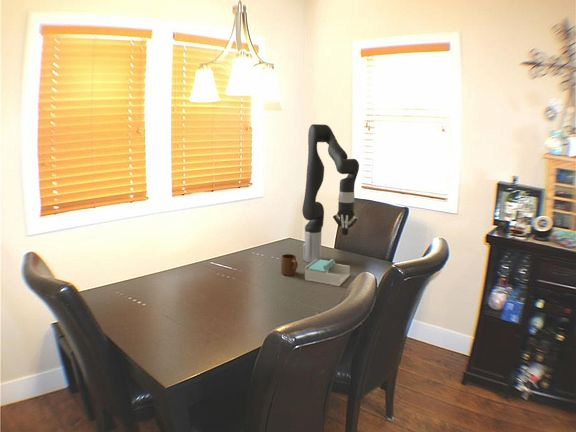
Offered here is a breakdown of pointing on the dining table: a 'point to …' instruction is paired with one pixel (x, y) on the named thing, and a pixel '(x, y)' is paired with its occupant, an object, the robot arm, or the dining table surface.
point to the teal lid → (322, 265)
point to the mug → (288, 264)
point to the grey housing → (328, 274)
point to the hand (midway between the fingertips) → (345, 235)
